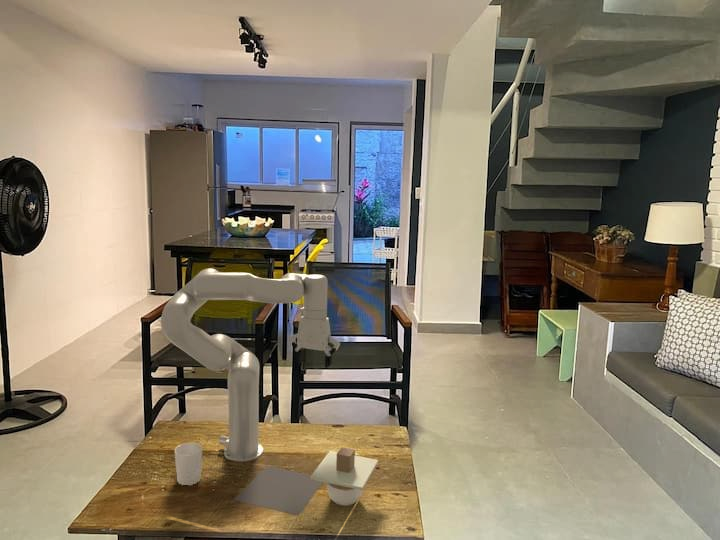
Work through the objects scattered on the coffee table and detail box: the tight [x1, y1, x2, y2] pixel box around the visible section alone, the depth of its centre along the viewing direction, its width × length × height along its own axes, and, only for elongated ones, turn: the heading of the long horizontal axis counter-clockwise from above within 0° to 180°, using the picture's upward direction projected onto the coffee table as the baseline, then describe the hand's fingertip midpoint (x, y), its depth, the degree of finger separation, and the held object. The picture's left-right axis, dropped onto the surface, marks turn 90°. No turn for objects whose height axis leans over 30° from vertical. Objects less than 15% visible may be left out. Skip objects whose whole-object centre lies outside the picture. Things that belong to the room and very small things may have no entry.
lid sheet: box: [310, 446, 379, 491], centre depth 159 cm, size 15×15×6 cm
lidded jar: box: [326, 483, 364, 507], centre depth 161 cm, size 11×11×9 cm
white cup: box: [174, 442, 203, 486], centre depth 168 cm, size 8×8×10 cm
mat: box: [233, 465, 324, 517], centre depth 166 cm, size 20×20×1 cm
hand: (313, 364), depth 184 cm, fingers open, 9 cm apart
